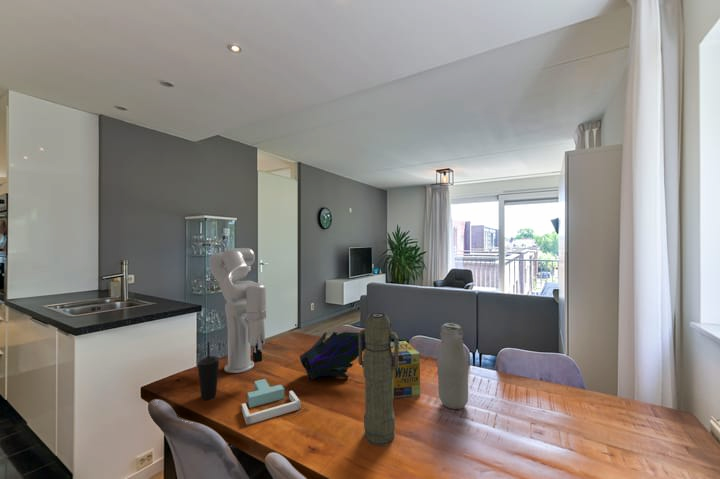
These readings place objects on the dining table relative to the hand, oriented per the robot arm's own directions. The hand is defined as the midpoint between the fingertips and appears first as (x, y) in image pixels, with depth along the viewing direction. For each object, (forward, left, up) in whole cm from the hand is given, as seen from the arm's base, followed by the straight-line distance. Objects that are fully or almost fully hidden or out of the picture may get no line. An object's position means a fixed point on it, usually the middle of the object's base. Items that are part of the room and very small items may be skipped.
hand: (257, 361), depth 122 cm
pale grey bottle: (+53, +53, -9) cm, 76 cm away
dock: (+22, 0, -9) cm, 24 cm away
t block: (+11, 0, -9) cm, 14 cm away
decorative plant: (+9, +30, -9) cm, 33 cm away
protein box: (+33, +46, -9) cm, 57 cm away
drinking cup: (+1, -18, -9) cm, 20 cm away
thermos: (+53, +23, -9) cm, 58 cm away
